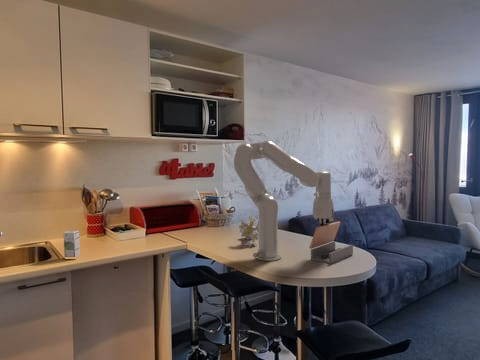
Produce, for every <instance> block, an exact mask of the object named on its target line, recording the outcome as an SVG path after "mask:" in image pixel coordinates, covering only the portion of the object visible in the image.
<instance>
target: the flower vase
mask: <svg viewBox="0 0 480 360" xmlns="http://www.w3.org/2000/svg"><path fill="white" fill-rule="evenodd" d="M246 216H247V218H248V220H249V223H246V221H245V220H243V219H241V224H240V225H238V228H239V233H241V235H240V236H241V237H242V238H243V237H244V238H246V240H247V241H248V240H249V241H248V242H247V243H245V244H244V245H245V246H244V247H246V246H248V248H249V247H250V248H251V247H252V246H253V247H255V246H257V244H255V243H254V242H255V241H259V220H257V219H255V217H254V216H253V215H252V216H251V217H250V215H246ZM254 224H257V225H256V226H254ZM251 240H252V241H251Z"/></svg>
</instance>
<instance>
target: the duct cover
mask: <svg viewBox="0 0 480 360" xmlns="http://www.w3.org/2000/svg"><path fill="white" fill-rule="evenodd" d="M340 226H341V221H335V222H331V223H328V224H327V225H324V226H321V225H320V226H317V227H316V228H315V231H314V234H313V237H312V239H311V242H310V245H309V249H310V250H311V249H314V248H317V247H320V246H323V245H326V244H329V243H332V242H335V241H334V240H335V238H336V236H337V233H338V230H339V228H340Z"/></svg>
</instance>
